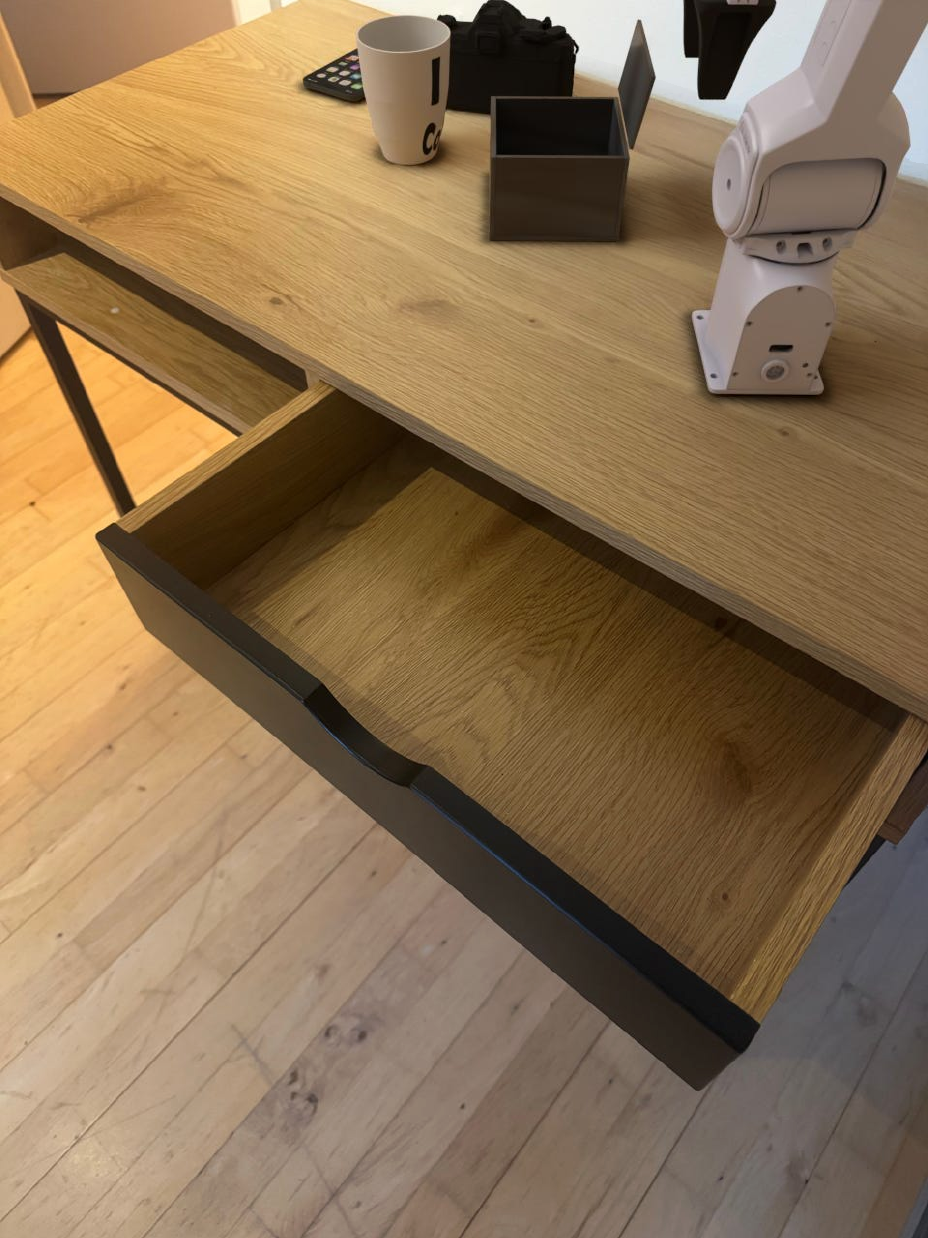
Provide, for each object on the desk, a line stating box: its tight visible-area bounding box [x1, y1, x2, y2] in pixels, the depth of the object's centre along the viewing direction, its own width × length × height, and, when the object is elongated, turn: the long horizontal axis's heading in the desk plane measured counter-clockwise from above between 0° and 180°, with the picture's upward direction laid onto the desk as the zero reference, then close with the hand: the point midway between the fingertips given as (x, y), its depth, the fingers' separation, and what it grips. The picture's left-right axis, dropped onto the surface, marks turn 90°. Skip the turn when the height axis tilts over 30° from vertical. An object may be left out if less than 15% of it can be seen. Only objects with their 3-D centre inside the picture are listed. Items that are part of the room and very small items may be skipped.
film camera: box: [436, 0, 580, 115], centre depth 89 cm, size 15×10×9 cm, turn 74°
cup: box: [355, 14, 450, 166], centre depth 81 cm, size 8×8×10 cm
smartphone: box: [302, 47, 366, 102], centre depth 96 cm, size 7×1×15 cm
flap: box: [617, 19, 657, 150], centre depth 71 cm, size 11×5×1 cm
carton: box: [488, 96, 631, 242], centre depth 76 cm, size 11×11×7 cm
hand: (704, 76), depth 71 cm, fingers open, 7 cm apart
